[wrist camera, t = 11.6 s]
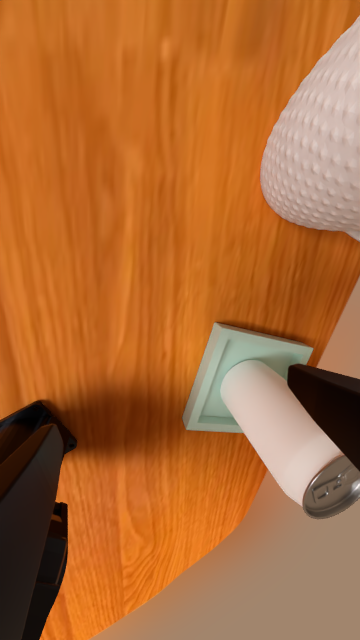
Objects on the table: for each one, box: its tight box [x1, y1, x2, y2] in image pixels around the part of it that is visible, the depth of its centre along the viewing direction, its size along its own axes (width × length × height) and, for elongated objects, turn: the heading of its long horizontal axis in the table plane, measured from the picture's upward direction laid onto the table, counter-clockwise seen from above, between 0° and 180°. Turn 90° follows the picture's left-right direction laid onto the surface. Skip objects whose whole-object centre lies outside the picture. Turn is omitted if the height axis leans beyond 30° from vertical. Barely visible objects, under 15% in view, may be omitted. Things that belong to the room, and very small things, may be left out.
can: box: [220, 360, 360, 519], centre depth 19 cm, size 6×6×12 cm
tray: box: [182, 322, 314, 433], centre depth 25 cm, size 12×12×2 cm
